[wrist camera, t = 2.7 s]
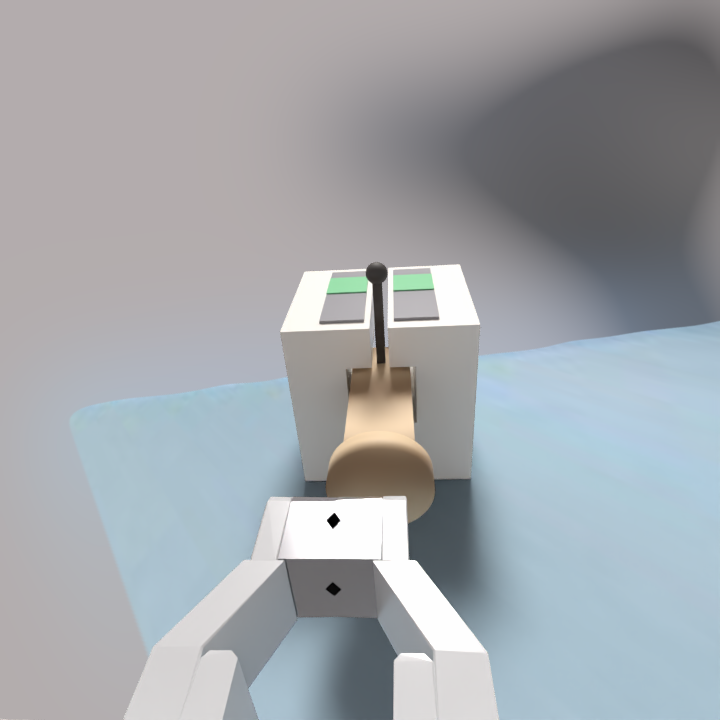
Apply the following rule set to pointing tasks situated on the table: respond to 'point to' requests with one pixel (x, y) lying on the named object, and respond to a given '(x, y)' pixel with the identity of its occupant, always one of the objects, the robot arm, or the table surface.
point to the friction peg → (381, 429)
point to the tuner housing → (406, 349)
